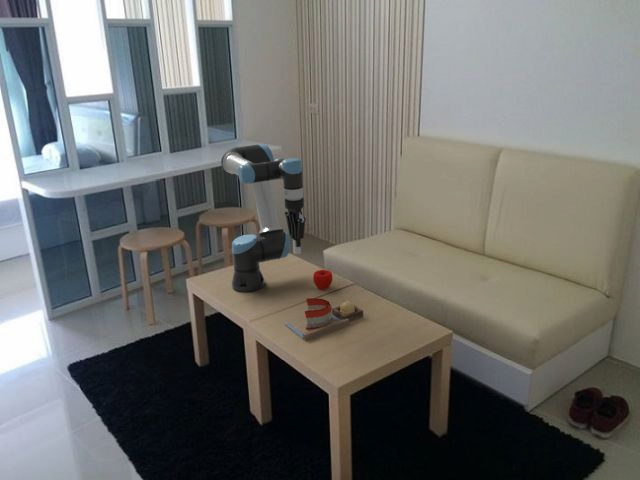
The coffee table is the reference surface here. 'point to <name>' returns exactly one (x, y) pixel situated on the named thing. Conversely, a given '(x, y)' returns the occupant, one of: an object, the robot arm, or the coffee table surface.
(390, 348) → the coffee table surface
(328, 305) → the toy
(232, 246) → the robot arm
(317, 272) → the apple
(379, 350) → the coffee table surface
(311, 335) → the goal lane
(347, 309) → the pale yellow sphere
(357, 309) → the base
